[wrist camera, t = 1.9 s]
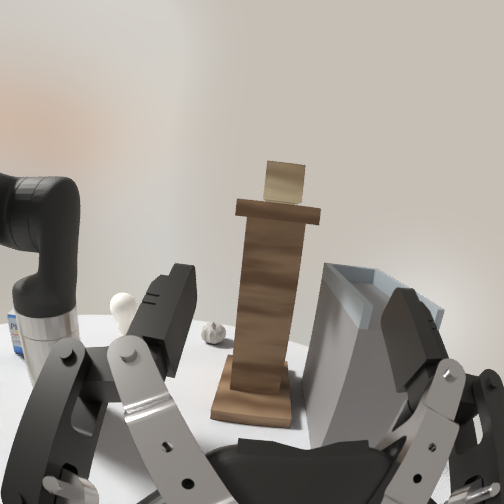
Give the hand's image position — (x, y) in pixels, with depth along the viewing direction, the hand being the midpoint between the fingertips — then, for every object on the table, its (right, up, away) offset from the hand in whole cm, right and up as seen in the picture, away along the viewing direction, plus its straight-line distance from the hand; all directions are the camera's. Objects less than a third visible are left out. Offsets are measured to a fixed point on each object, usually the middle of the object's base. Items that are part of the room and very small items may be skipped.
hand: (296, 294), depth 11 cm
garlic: (-11, -19, +53) cm, 58 cm away
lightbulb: (-30, -18, +47) cm, 59 cm away
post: (-1, -23, +35) cm, 42 cm away
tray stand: (+12, -25, +29) cm, 40 cm away
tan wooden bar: (+2, +8, +25) cm, 27 cm away
